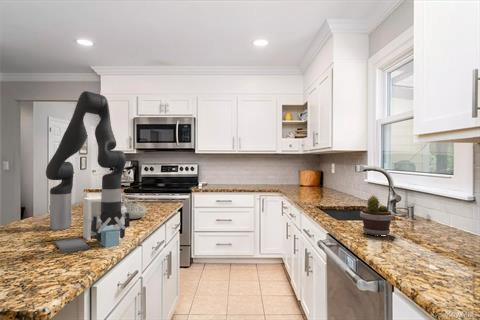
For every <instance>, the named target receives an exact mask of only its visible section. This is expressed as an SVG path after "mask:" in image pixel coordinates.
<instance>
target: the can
mask: <svg viewBox="0 0 480 320" xmlns="http://www.w3.org/2000/svg"><path fill="white" fill-rule="evenodd" d="M126 209H127V208H126V207H125V205H121V213H125V212H126ZM120 221H121V222H122V224H123V225H124V224H125V220H124V218H123V216H122V217H121V219H120ZM113 228H115V229H116V230H118V231H119V232H120V229H121V228H120V227H119V225H118V224H116V225H113Z"/></svg>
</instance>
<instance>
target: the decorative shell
mask: <svg viewBox="0 0 480 320" xmlns="http://www.w3.org/2000/svg"><path fill="white" fill-rule="evenodd" d="M121 205H125V207H126V208H127V209H126V212H127V213H129V220H136V219H140V218H142V217H144V216H145V215H146V214H147V212H148V208H147V206H146V205H145V204H144V203H141V202H139V201H137V200H126V201H123V202H121Z"/></svg>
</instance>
